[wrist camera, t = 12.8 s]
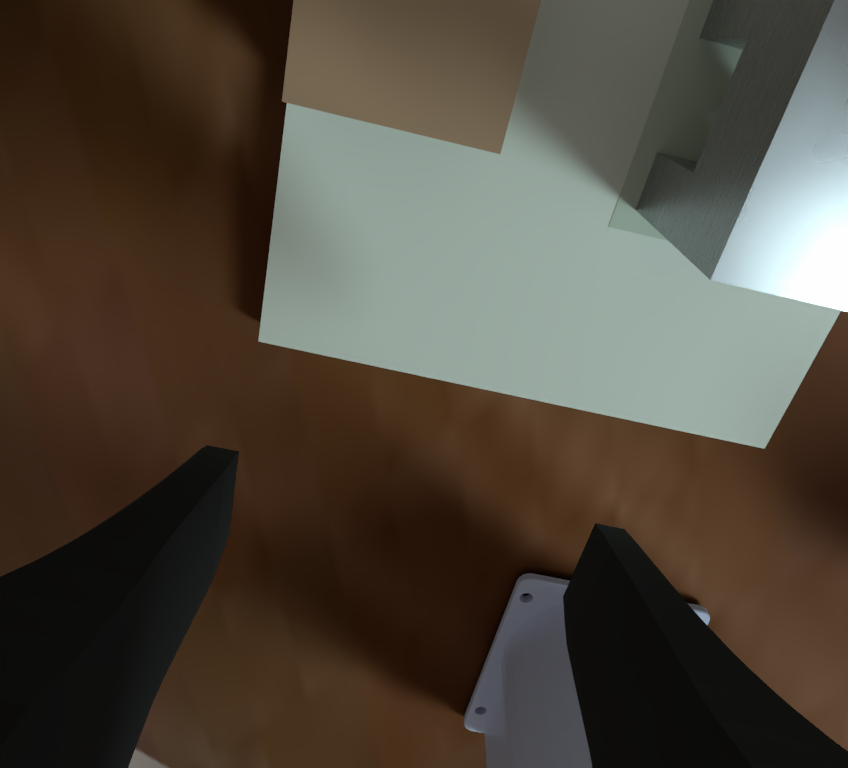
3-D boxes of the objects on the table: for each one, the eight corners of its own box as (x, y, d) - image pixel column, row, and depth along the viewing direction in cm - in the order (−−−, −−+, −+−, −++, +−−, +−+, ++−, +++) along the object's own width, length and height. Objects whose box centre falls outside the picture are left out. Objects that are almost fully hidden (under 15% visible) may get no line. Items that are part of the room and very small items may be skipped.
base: (750, 430, 24) (792, 484, 21) (267, 326, 22) (241, 369, 19) (971, 12, 18) (1074, 9, 15) (328, -165, 16) (304, -205, 13)
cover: (491, 135, 18) (500, 154, 15) (306, 90, 18) (281, 101, 15) (549, -86, 16) (570, -110, 13) (336, -144, 15) (314, -180, 13)
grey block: (768, 241, 19) (892, 322, 14) (635, 210, 19) (710, 280, 14) (879, 6, 16) (1087, -5, 11) (725, -35, 16) (864, -67, 11)
